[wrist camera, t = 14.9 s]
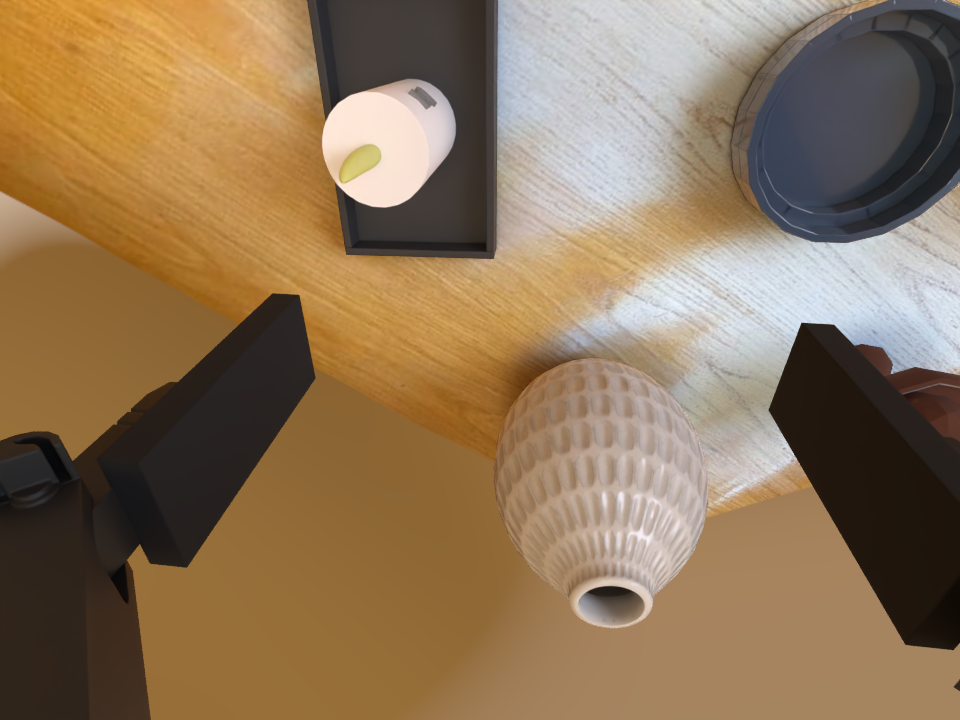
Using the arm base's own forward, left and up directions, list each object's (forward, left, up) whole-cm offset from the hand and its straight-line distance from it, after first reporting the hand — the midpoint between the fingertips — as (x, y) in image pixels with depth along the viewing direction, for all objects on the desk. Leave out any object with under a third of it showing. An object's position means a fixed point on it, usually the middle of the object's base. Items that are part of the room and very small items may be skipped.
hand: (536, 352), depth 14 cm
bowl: (-2, +20, -30) cm, 36 cm away
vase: (+22, +5, -30) cm, 38 cm away
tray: (-2, -10, -30) cm, 31 cm away
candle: (-2, -10, -29) cm, 31 cm away
